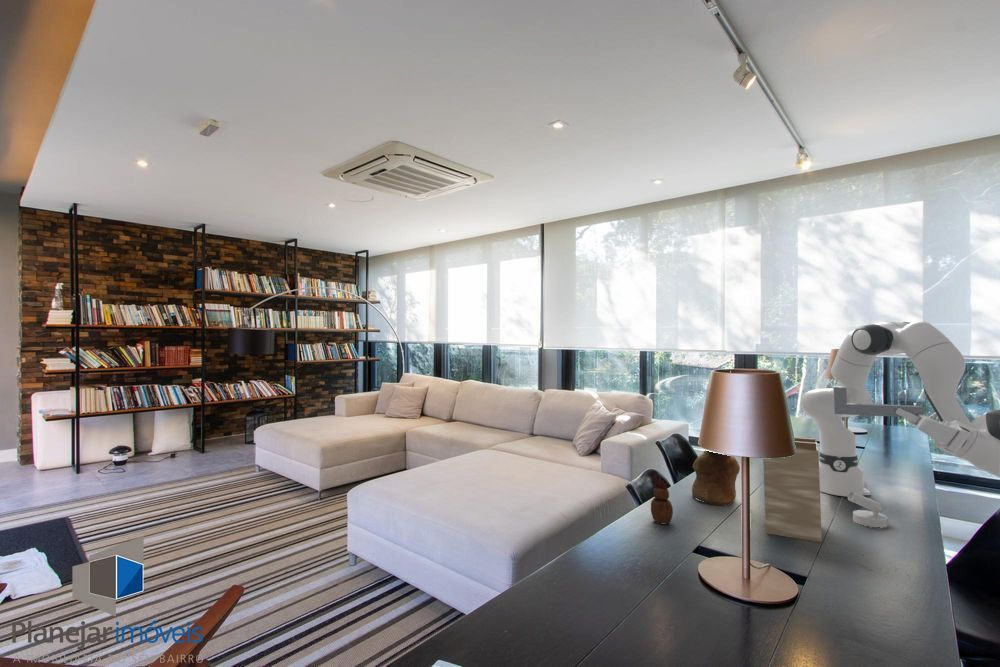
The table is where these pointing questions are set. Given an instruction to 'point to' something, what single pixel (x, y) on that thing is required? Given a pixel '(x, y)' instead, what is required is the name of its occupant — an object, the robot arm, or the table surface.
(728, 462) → the ceramic vessel
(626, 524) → the table surface
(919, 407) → the bracket
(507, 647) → the table surface
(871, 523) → the wall hook
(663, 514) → the wooden figurine
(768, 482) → the stand
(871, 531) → the table surface
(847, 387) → the robot arm
